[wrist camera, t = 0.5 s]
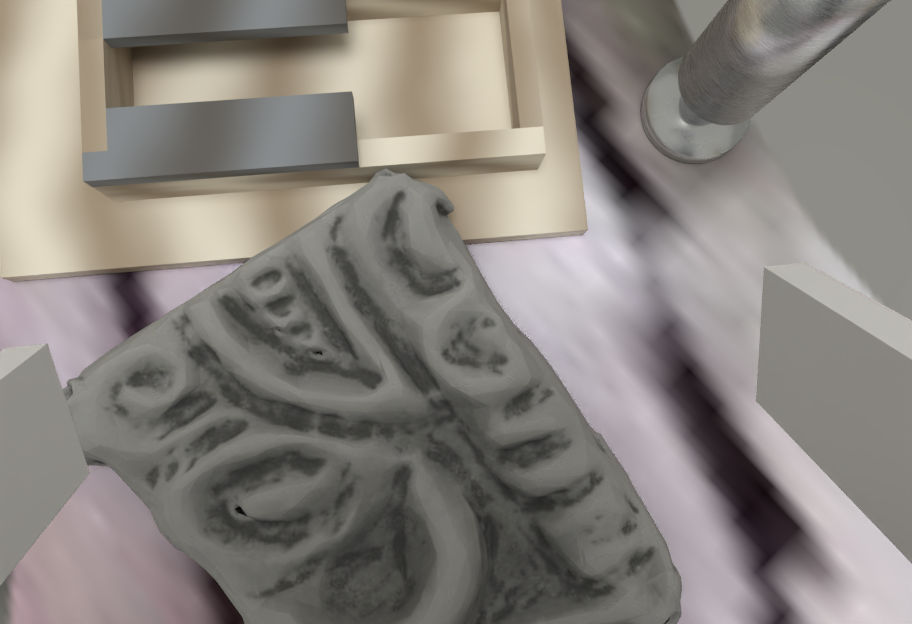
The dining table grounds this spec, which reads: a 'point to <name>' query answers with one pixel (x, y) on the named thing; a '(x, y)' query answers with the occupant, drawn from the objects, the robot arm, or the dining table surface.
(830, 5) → the peg
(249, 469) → the wall plaque
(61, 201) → the keyhole base
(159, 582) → the dining table surface
